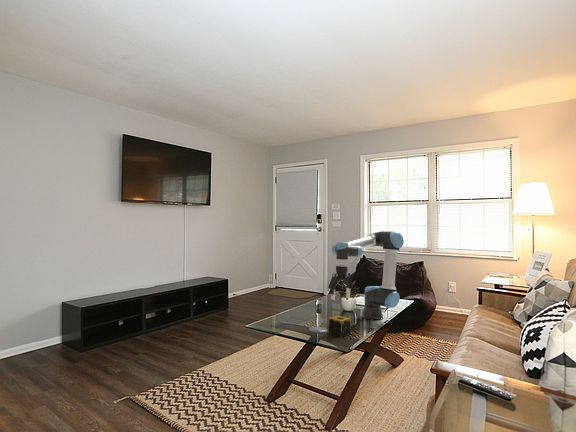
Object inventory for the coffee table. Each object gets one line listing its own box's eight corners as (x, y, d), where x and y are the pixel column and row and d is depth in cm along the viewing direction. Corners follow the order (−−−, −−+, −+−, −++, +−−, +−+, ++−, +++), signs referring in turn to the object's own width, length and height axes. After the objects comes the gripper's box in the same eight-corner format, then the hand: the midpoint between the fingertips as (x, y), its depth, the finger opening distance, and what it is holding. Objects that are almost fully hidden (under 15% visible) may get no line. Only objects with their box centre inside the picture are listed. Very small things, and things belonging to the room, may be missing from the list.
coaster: (318, 326, 228) (318, 325, 228) (331, 331, 218) (331, 330, 218) (305, 329, 221) (305, 328, 221) (317, 334, 211) (317, 333, 211)
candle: (327, 334, 213) (328, 317, 213) (337, 330, 220) (337, 315, 220) (341, 337, 206) (341, 321, 206) (350, 334, 213) (351, 318, 213)
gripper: (350, 264, 231) (349, 296, 229) (323, 265, 216) (322, 299, 215) (359, 266, 224) (358, 298, 223) (331, 266, 210) (330, 301, 208)
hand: (340, 299), depth 219 cm, fingers open, 13 cm apart
